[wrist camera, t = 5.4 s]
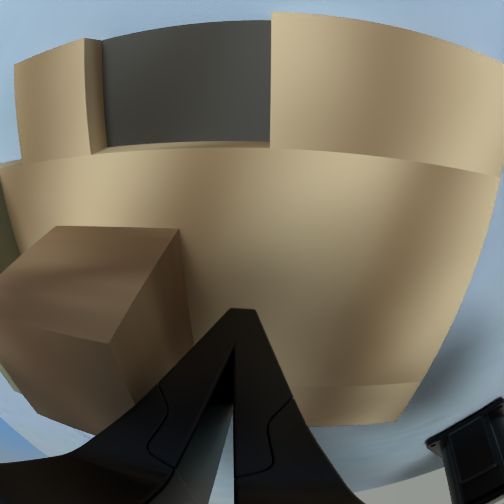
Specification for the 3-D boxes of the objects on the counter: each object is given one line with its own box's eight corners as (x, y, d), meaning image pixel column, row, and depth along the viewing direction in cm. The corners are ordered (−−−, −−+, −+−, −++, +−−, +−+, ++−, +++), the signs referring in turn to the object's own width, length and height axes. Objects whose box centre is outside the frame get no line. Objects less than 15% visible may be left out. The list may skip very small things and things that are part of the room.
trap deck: (490, 66, 6) (583, 77, 3) (392, 403, 14) (405, 470, 10) (-11, 84, 7) (-91, 106, 4) (74, 375, 15) (46, 429, 12)
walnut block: (178, 228, 9) (108, 343, 5) (193, 343, 11) (161, 452, 7) (56, 225, 9) (-32, 306, 5) (88, 327, 11) (37, 413, 7)
